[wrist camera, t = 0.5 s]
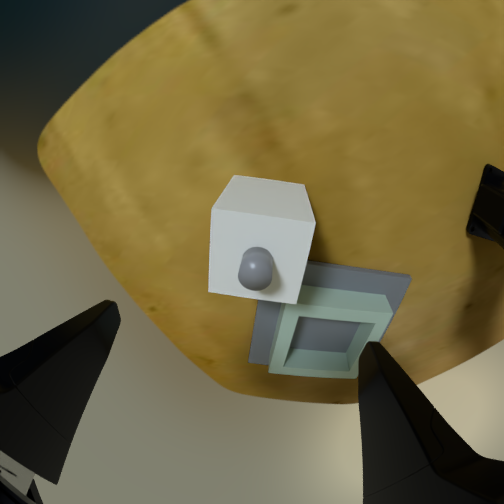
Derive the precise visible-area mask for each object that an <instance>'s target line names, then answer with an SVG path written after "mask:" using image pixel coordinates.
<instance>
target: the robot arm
mask: <svg viewBox="0 0 504 504" xmlns="http://www.w3.org/2000/svg"><path fill="white" fill-rule="evenodd" d="M489 169H490V171H489ZM471 228H472V229H471ZM467 231H468V232H469V233H470V234H472V235H475V236H479V237H482V238H485V239H489V240H492V241H495V242H497V243H498V244H499V245H500V246H501V247H502V248H503V249H504V172H503V171H501V170H500V169H498V168H496V167H494V166H492V165H490V164H486V166H485V168H484V172H483V176H482V180H481V184H480V187H479V191H478V194H477V198H476V201H475V204H474V207H473V211H472V214H471V217H470V219H469V222H468V225H467ZM120 322H121V318H120V314H119V310H118V306H117V304H116V302H114V301H110V300H104V301H103V302H101V303H99V304H97V305H95V306H93V307H91V308H89V309H88V310H86V311H84V312H82V313H80V314H78V315H77V316H75V317H73V318H71V319H69V320H68V321H66V322H64V323H62V324H60V325H59V326H57V327H55V328H53V329H51V330H50V331H48V332H46V333H44V334H43V335H41V336H39V337H37V338H36V339H34V340H32V341H30V342H28V343H27V344H25V345H23V346H21V347H20V348H18V349H16V350H14V351H12V352H10V353H8V354H6V355H4V356H1V357H0V504H43V502H42V500H41V497H40V495H39V492H38V489H37V487H36V484H35V481H34V479H33V477H34V475H35V474H37V475H39V476H41V477H42V478H44V479H46V480H48V481H50V482H52V483H53V484H56V485H57V483H58V481H59V477H60V474H61V472H62V468H63V465H64V462H65V460H66V457H67V454H68V451H69V448H70V445H71V442H72V440H73V437H74V434H75V432H76V429H77V427H78V424H79V422H80V419H81V417H82V414H83V412H84V410H85V407H86V405H87V402H88V400H89V398H90V395H91V393H92V391H93V389H94V386H95V384H96V382H97V380H98V377H99V375H100V373H101V371H102V369H103V367H104V364H105V362H106V360H107V358H108V355H109V353H110V350H111V347H112V344H113V342H114V339H115V336H116V334H117V331H118V328H119V326H120ZM358 400H359V411H360V422H361V423H360V424H361V439H362V457H363V504H504V461H499V460H494V459H489V458H485V457H483V456H481V455H479V454H478V453H476V452H475V451H474V450H473V449H472V448H471V447H470V446H469V445H468V444H467V443H466V442H465V441H464V440H463V439H462V438H461V437H460V436H459V435H458V434H457V433H456V432H455V430H454V429H453V428H452V427H451V426H450V425H449V424H448V423H447V422H446V421H445V419H444V418H443V417H442V416H441V415H440V414H439V412H438V411H437V410H436V408H434V406H433V405H432V404H431V403H430V401H429V400H428V399H427V398H426V396H425V395H424V394H423V393H422V391H421V390H420V389H419V388H418V387H417V385H416V384H415V383H414V382H413V381H412V380H411V378H410V377H409V376H408V375H407V374H406V372H405V371H404V370H403V369H402V368H401V367H400V365H399V364H398V363H397V362H396V361H395V360H394V358H393V357H392V356H391V355H390V354H389V353H388V351H387V350H386V349H385V348H384V347H383V346H382V345H381V343H380V342H377V341H368V342H367V343H366V345H365V347H364V349H363V350H362V352H361V354H360V356H359V360H358Z"/></svg>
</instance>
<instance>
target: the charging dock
mask: <svg viewBox="0 0 504 504" xmlns="http://www.w3.org/2000/svg"><path fill="white" fill-rule="evenodd" d="M411 279H412V278H411V277H410V275H407V274H400V273H393V272H385V271H378V270H371V269H364V268H357V267H350V266H343V265H336V264H329V263H322V262H315V261H308V260H307V263H306V267H305V272H304V276H303V280H302V283H301V287H300V291H299V295H298V299H297V303H296V304H289V303H281V302H274V301H266V300H259V299H258V305H257V311H256V317H255V323H254V329H253V335H252V341H251V347H250V353H249V360H248V363H256V364H263V365H269V369H268V373H275V374H285V375H296V376H308V377H324V378H349V379H356V378H357V376H358V360H359V356H360V354H361V352H362V350H363V349H364V347H365V345H366V343H367V342H368V341H377V342H380V341H381V339H382V337H383V336H384V334H385V332H386V330H387V328H388V326H389V325H390V323H391V321H392V319H393V317H394V315H395V313H396V311H397V309H398V307H399V305H400V303H401V301H402V299H403V297H404V295H405V293H406V290H407V288H408V286H409V284H410V282H411Z"/></svg>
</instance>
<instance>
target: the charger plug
mask: <svg viewBox="0 0 504 504" xmlns="http://www.w3.org/2000/svg"><path fill="white" fill-rule="evenodd" d="M315 225H316V222H315V219H314V215H313V212H312V208H311V205H310V202H309V198H308V195H307V192H306V189H305V185H302V184H296V183H290V182H283V181H277V180H270V179H262V178H255V177H247V176H239V175H234V176H233V177H232V179H231V180H230V182H229V183H228V185H227V186H226V188H225V189H224V191H223V192H222V194H221V195H220V197H219V198H218V200H217V201H216V203H215V204H214V206H213V207H212V212H211V231H210V256H209V289H208V292H213V293H219V294H226V295H232V296H239V297H246V298H252V299H259V300H266V301H274V302H281V303H289V304H296V303H297V299H298V295H299V291H300V287H301V283H302V280H303V276H304V272H305V267H306V263H307V259H308V255H309V251H310V247H311V242H312V238H313V234H314V229H315Z"/></svg>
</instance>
